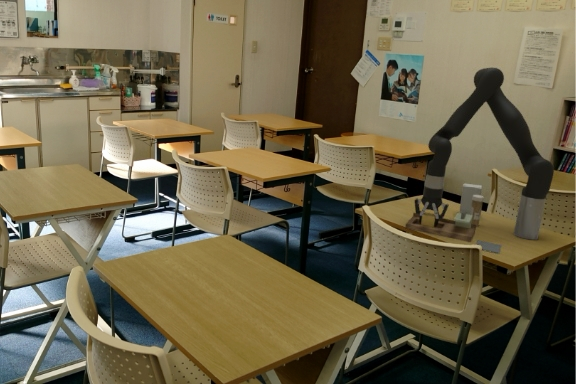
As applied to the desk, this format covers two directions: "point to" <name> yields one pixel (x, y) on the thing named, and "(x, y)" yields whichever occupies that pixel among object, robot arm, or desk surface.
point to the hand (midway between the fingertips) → (428, 225)
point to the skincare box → (469, 196)
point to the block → (428, 219)
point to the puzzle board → (443, 228)
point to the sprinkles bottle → (476, 209)
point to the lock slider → (463, 219)
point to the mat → (489, 246)
